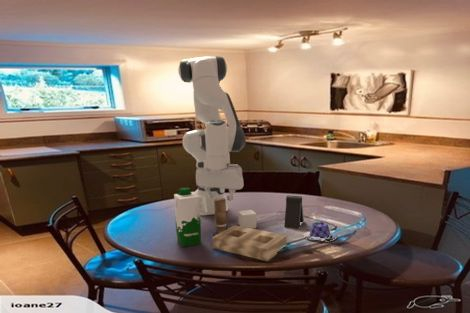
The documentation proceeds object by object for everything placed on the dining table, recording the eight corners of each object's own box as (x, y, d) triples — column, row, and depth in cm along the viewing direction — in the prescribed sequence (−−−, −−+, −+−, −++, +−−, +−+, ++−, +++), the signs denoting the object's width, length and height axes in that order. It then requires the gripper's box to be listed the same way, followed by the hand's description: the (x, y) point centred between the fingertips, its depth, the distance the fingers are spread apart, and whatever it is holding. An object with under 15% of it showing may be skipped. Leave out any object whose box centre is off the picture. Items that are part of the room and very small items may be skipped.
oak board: (212, 247, 126) (212, 237, 125) (234, 235, 138) (234, 225, 137) (267, 261, 114) (267, 249, 113) (286, 246, 125) (286, 235, 125)
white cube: (238, 224, 149) (238, 211, 148) (252, 223, 151) (251, 209, 150) (242, 229, 143) (242, 215, 143) (256, 227, 145) (256, 213, 144)
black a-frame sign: (298, 228, 142) (298, 199, 140) (284, 227, 144) (283, 198, 143) (303, 221, 150) (303, 194, 148) (290, 220, 153) (289, 193, 151)
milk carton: (196, 236, 138) (194, 185, 135) (204, 244, 130) (201, 190, 127) (174, 240, 135) (171, 188, 132) (180, 248, 126) (177, 194, 123)
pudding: (338, 244, 126) (338, 230, 125) (304, 243, 128) (304, 229, 127) (334, 232, 138) (334, 219, 137) (303, 231, 140) (303, 218, 139)
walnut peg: (213, 235, 138) (211, 200, 136) (219, 231, 142) (218, 197, 140) (222, 237, 135) (221, 201, 133) (229, 233, 139) (228, 199, 137)
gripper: (246, 163, 131) (247, 199, 133) (202, 160, 142) (204, 194, 144) (236, 165, 126) (238, 203, 128) (192, 163, 137) (194, 198, 139)
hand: (220, 198), depth 136 cm, fingers open, 8 cm apart
